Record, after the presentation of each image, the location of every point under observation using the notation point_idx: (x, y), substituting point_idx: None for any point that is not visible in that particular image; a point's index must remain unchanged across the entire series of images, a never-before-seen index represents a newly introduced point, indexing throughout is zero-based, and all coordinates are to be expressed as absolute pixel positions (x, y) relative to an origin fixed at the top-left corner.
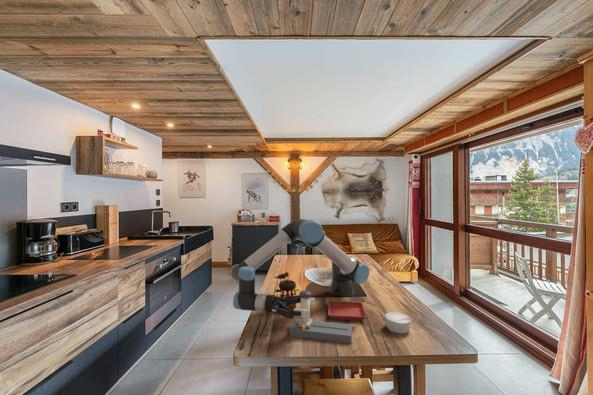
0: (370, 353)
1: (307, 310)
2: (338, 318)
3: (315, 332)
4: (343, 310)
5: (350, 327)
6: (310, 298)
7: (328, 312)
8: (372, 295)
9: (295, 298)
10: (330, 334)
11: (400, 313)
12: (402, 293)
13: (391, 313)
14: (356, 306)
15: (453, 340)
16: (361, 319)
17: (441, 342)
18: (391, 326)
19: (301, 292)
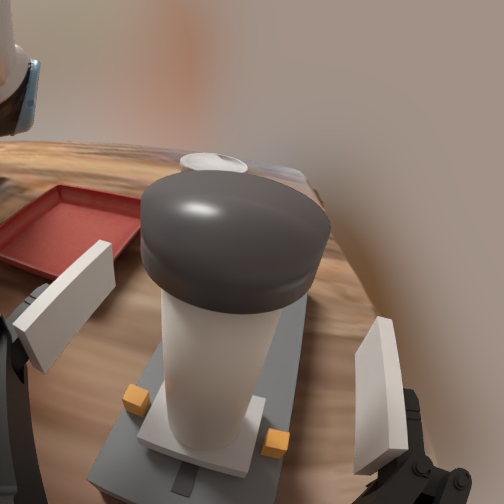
0: (345, 267)
1: (387, 329)
2: None
3: (295, 386)
4: (48, 237)
5: None
6: (87, 262)
7: None
8: (15, 170)
9: (7, 390)
10: (303, 327)
11: (193, 154)
12: (50, 143)
13: (189, 161)
14: (52, 203)
15: (262, 166)
16: None
17: (271, 175)
18: None
19: (236, 233)
